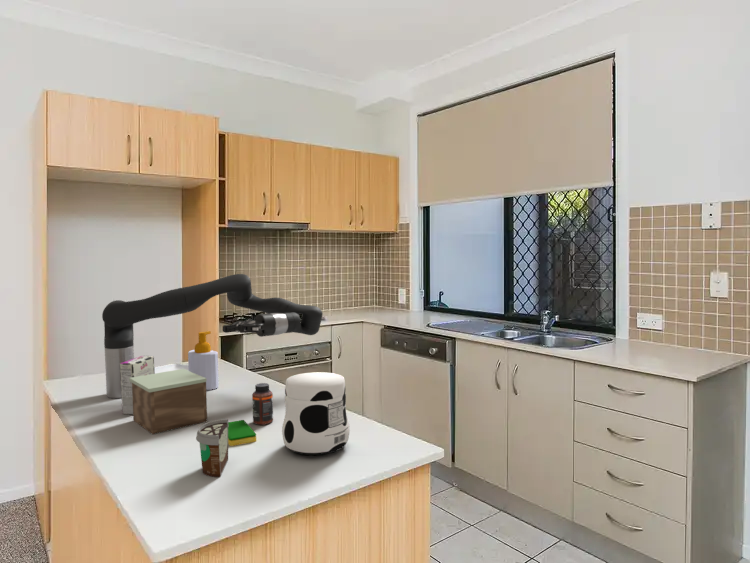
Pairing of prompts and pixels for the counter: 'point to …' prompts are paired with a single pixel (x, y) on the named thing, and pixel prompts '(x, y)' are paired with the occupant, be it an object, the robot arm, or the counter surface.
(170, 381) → the lid
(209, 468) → the food container
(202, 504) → the counter surface
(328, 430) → the milk container
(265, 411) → the supplement bottle
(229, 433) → the dish sponge
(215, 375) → the soap bottle
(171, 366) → the salad plate
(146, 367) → the candy bar box
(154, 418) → the walnut box
